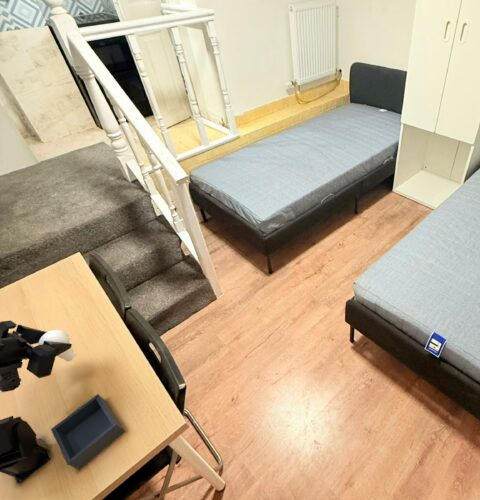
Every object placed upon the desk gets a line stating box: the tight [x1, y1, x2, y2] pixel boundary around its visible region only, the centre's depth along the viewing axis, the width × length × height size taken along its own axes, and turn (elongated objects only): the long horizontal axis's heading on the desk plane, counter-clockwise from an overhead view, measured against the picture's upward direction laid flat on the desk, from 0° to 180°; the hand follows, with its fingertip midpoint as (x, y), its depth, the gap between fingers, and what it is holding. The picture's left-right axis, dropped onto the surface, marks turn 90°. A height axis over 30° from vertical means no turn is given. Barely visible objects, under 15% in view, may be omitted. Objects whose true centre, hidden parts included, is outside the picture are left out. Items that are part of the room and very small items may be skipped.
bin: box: [50, 393, 126, 471], centre depth 78 cm, size 11×11×5 cm
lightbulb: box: [37, 329, 77, 362], centre depth 83 cm, size 6×6×11 cm
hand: (62, 340), depth 83 cm, fingers closed on lightbulb, 6 cm apart
